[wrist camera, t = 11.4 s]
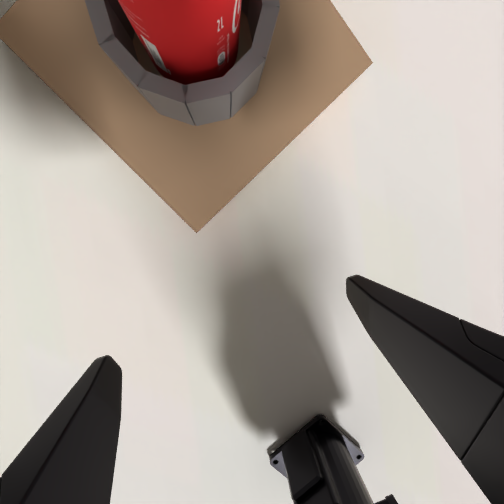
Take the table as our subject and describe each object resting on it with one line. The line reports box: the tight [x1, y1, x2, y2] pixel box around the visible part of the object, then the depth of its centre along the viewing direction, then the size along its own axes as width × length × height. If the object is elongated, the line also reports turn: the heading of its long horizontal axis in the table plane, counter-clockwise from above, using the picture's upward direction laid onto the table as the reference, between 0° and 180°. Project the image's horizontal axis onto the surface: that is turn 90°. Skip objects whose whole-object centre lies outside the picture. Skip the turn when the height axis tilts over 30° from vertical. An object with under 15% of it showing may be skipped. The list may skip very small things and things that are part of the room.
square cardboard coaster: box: [0, 0, 373, 233], centre depth 14 cm, size 16×16×5 cm
